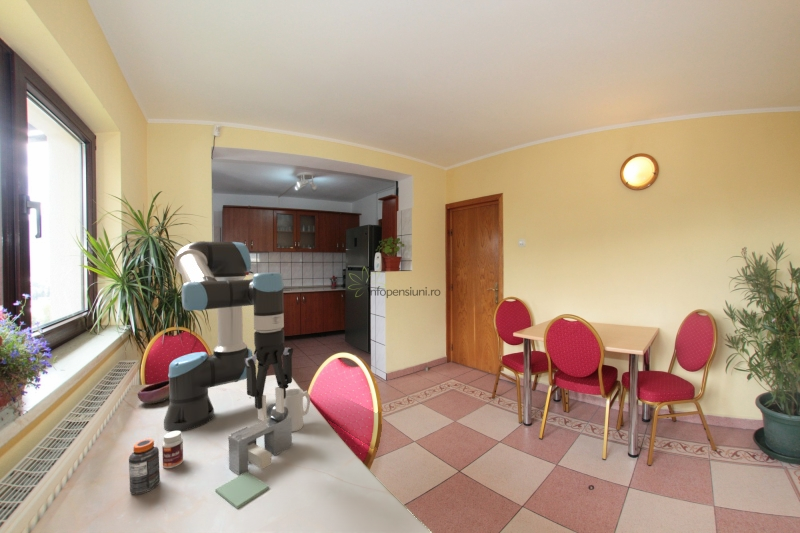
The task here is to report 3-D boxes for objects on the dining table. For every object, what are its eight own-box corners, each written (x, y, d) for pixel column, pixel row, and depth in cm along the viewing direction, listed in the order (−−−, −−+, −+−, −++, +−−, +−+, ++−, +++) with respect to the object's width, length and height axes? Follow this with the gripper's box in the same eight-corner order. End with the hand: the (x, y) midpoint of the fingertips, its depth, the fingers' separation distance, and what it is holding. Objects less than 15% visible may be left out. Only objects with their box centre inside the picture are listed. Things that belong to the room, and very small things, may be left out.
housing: (229, 469, 88) (228, 421, 88) (282, 441, 101) (281, 399, 101) (239, 475, 85) (238, 426, 85) (292, 445, 98) (291, 403, 98)
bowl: (146, 411, 124) (146, 390, 124) (133, 404, 131) (132, 384, 131) (191, 396, 138) (191, 377, 138) (176, 390, 145) (176, 372, 145)
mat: (215, 491, 79) (215, 489, 79) (246, 473, 86) (246, 471, 86) (237, 508, 73) (237, 506, 73) (268, 488, 80) (268, 485, 80)
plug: (229, 453, 95) (228, 433, 95) (245, 445, 99) (245, 425, 99) (258, 471, 87) (257, 449, 87) (274, 461, 91) (274, 440, 91)
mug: (289, 434, 105) (288, 398, 105) (279, 428, 109) (278, 392, 109) (315, 422, 113) (315, 388, 112) (305, 417, 117) (304, 384, 117)
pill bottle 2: (161, 471, 87) (160, 440, 87) (164, 461, 92) (163, 432, 92) (182, 465, 90) (181, 435, 90) (184, 456, 94) (183, 428, 94)
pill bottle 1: (153, 476, 85) (152, 433, 85) (164, 483, 82) (163, 439, 82) (125, 490, 80) (124, 445, 80) (136, 498, 77) (134, 451, 77)
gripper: (245, 337, 78) (247, 433, 78) (304, 325, 92) (306, 406, 92) (229, 334, 82) (231, 425, 82) (288, 323, 96) (290, 400, 97)
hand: (271, 415), depth 87 cm, fingers open, 5 cm apart
